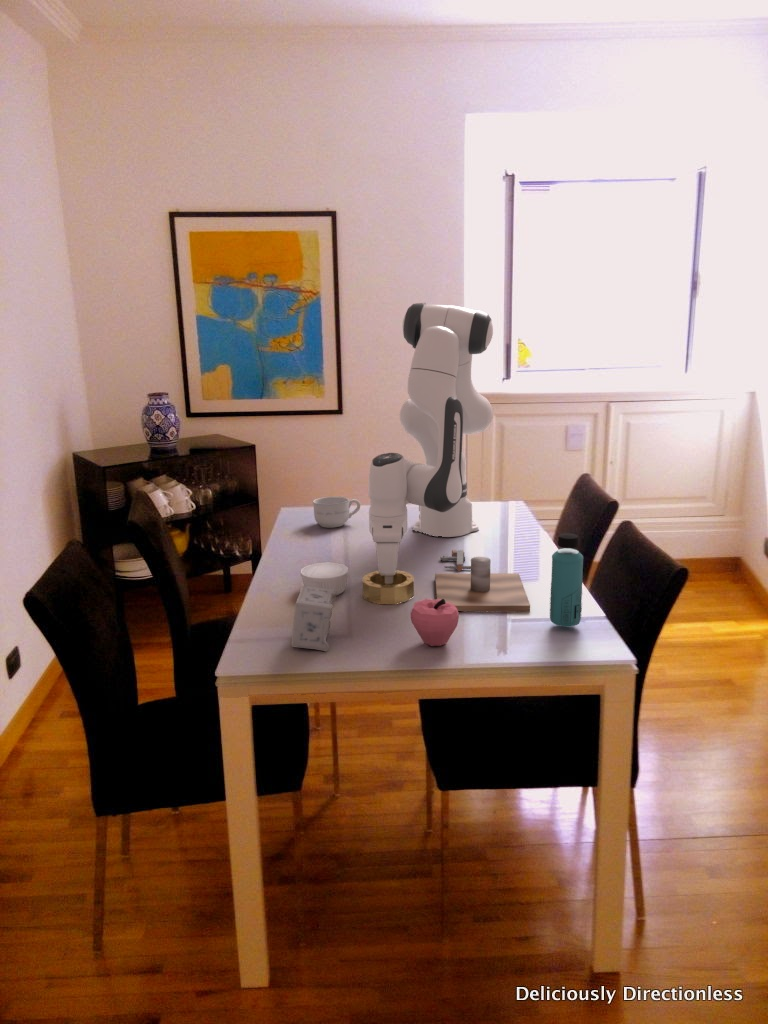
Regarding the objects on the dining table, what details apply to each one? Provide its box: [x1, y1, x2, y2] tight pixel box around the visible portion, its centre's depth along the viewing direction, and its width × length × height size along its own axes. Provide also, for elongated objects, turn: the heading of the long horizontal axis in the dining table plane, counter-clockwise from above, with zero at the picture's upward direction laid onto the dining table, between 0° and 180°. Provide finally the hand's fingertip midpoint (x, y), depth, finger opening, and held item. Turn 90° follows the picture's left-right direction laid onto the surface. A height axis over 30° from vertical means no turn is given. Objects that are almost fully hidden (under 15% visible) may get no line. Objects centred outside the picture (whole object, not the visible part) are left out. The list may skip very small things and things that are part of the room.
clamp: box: [439, 549, 471, 571], centre depth 204 cm, size 15×2×10 cm
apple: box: [410, 598, 460, 647], centre depth 159 cm, size 10×9×10 cm
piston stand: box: [434, 556, 531, 613], centre depth 184 cm, size 20×20×8 cm
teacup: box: [312, 496, 361, 529], centre depth 239 cm, size 14×11×8 cm
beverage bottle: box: [549, 532, 584, 627], centre depth 164 cm, size 6×7×20 cm
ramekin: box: [299, 561, 350, 597], centre depth 189 cm, size 11×11×5 cm
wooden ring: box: [362, 569, 415, 605], centre depth 185 cm, size 12×12×4 cm
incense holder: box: [290, 585, 337, 652], centre depth 161 cm, size 10×8×10 cm
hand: (389, 580), depth 190 cm, fingers closed on wooden ring, 2 cm apart
